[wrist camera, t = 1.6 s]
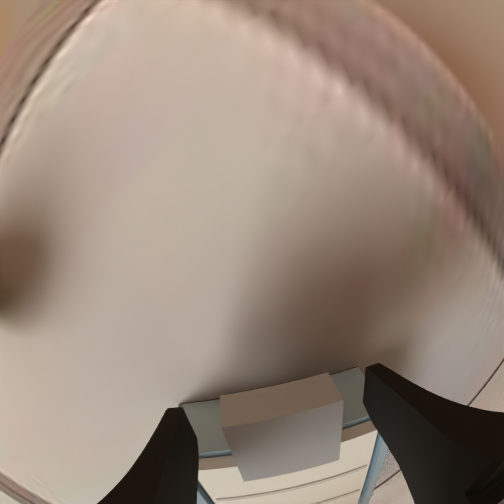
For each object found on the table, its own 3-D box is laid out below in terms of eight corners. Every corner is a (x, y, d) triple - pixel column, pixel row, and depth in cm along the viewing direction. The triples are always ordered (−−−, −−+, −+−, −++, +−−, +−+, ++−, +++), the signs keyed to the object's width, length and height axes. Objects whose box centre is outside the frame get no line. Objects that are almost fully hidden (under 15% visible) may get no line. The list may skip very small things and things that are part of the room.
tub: (348, 463, 17) (367, 505, 13) (224, 490, 17) (228, 536, 12) (358, 366, 14) (396, 421, 10) (178, 404, 14) (172, 471, 9)
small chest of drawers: (353, 499, 14) (360, 515, 12) (237, 525, 13) (239, 542, 12) (380, 355, 10) (400, 379, 8) (161, 402, 9) (156, 433, 8)
